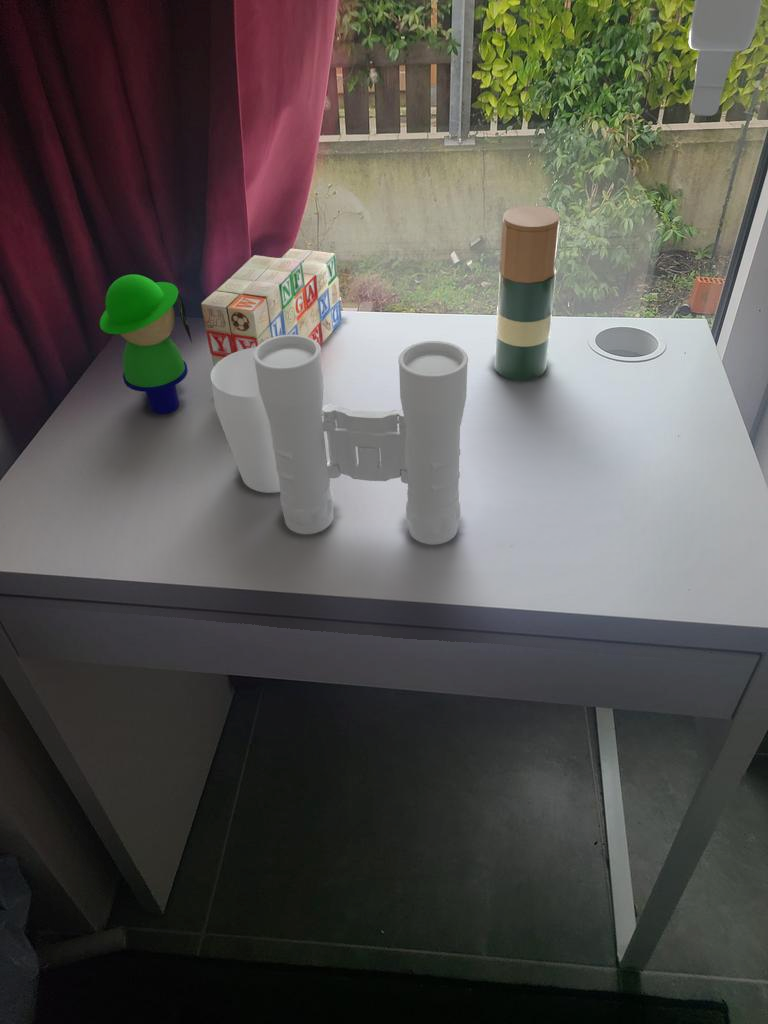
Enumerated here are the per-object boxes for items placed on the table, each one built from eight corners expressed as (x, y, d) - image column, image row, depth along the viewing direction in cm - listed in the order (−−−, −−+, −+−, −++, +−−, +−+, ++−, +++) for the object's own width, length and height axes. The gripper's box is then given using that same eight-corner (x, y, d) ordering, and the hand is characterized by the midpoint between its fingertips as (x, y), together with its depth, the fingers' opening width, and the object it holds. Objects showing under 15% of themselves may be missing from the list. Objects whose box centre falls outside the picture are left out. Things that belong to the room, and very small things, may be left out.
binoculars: (465, 511, 77) (471, 342, 65) (459, 551, 73) (465, 378, 61) (288, 497, 79) (263, 332, 67) (274, 535, 75) (244, 367, 63)
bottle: (550, 357, 97) (565, 216, 86) (541, 384, 93) (556, 239, 81) (499, 351, 99) (508, 211, 87) (488, 377, 94) (496, 234, 83)
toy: (208, 411, 91) (181, 286, 81) (130, 430, 89) (92, 304, 79) (192, 373, 98) (165, 252, 88) (119, 389, 95) (83, 268, 85)
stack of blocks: (299, 315, 108) (288, 223, 99) (342, 321, 106) (335, 228, 98) (219, 401, 93) (199, 301, 85) (268, 410, 91) (252, 309, 83)
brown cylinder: (557, 262, 89) (563, 207, 85) (549, 285, 85) (554, 229, 81) (506, 257, 90) (509, 203, 86) (495, 279, 86) (498, 224, 82)
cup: (299, 437, 87) (286, 336, 79) (333, 484, 81) (322, 380, 73) (218, 462, 84) (196, 361, 76) (247, 513, 78) (226, 408, 70)
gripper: (826, -147, 41) (754, 141, 50) (803, -166, 55) (750, 60, 65) (694, -144, 43) (648, 136, 52) (705, -163, 57) (667, 58, 66)
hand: (704, 93), depth 58 cm, fingers open, 8 cm apart
